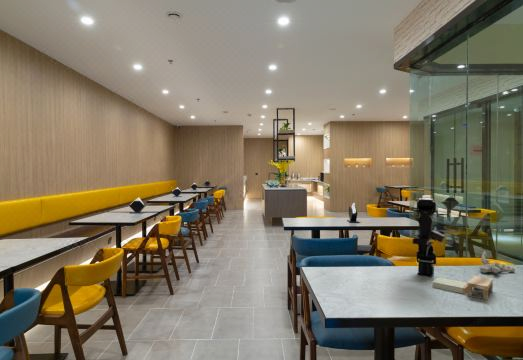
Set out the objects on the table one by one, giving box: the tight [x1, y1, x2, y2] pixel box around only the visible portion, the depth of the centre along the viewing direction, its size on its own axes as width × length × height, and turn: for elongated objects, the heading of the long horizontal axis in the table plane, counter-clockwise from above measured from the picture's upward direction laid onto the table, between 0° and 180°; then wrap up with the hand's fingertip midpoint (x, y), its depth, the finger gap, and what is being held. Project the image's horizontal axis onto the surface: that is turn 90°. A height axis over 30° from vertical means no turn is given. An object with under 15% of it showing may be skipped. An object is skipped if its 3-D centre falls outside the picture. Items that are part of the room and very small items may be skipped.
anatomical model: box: [479, 251, 516, 274], centre depth 180 cm, size 19×8×20 cm
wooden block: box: [466, 275, 494, 301], centre depth 142 cm, size 7×15×6 cm, turn 138°
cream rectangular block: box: [432, 277, 468, 295], centre depth 150 cm, size 13×10×2 cm
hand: (425, 257), depth 157 cm, fingers closed
